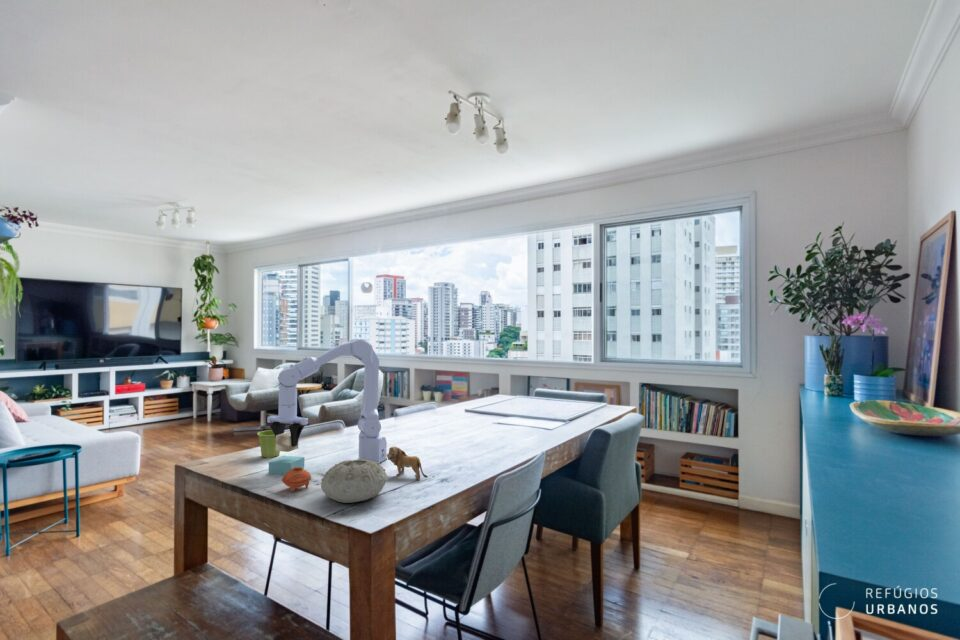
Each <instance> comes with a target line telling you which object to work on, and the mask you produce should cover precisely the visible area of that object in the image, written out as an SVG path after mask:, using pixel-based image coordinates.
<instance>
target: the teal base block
mask: <svg viewBox="0 0 960 640" xmlns="http://www.w3.org/2000/svg"><path fill="white" fill-rule="evenodd" d="M294 467H302V468H303V469H304V468H305V456H295V455H282V456H278V457H277V458H275V459H272V460H270V461H268V474H269V475H270V474H272V475H285V474H286V473H287V472H288V471H290V469H292V468H294Z"/></svg>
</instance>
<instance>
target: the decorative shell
mask: <svg viewBox="0 0 960 640" xmlns="http://www.w3.org/2000/svg"><path fill="white" fill-rule="evenodd" d="M387 480H388V476H387V472H386V468H384V467H383V466H382V465H381V464H380V463H376V462H374V461H371V460H367V459H359V460H356V459H354V460H351V459H350V460H343V461H340V462H338V463H336V464H334V465H333V466H331V468H329V469H328V470H327V471H326V472H325V474H324V475H323V477H322V479H321V481H320V482H321V483H320V485H321V486H320V487H321V491H322V492H323V493H324V494H325V495H326V496H327V497H328V498H330V499H332V500H334V501H335V502H338V503H343V504H352V503H357V502H364V501H368V500H370V499H372V498H374V497H376V496H378V495H379V494H380V493H381V492H382V490H383V488H384V486H385V485H386V483H387Z"/></svg>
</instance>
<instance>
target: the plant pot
mask: <svg viewBox="0 0 960 640" xmlns="http://www.w3.org/2000/svg"><path fill="white" fill-rule="evenodd" d="M284 433H286V432H285V431H284ZM257 436H258V439H259V446H260V455H261V457H262V458H264V459H265V458H266V459H268V458H269V459H271V458H274V457H280V452H281V451H276V438H275V435H274V432H273V431H272V429H269V430H263V431H258V432H257Z"/></svg>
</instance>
